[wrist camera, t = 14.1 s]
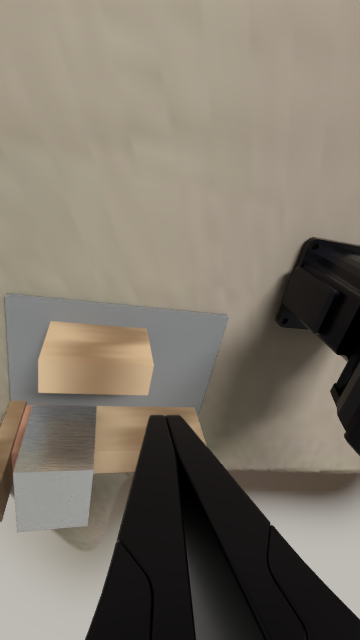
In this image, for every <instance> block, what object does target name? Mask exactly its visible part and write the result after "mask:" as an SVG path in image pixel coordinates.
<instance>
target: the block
mask: <svg viewBox="0 0 360 640" xmlns="http://www.w3.org/2000/svg"><path fill="white" fill-rule="evenodd" d="M153 368H154V363H153V358H152V353H151V347H150V342H149V337H148V332H147V329H144V328H132V327H119V326H107V325H94V324H81V323H69V322H56V321H51V322H50V325H49V328H48V331H47V334H46V337H45V340H44V343H43V346H42V349H41V353H40V356H39V359H38V393H66V394H109V395H148V392H149V388H150V383H151V378H152V373H153ZM32 406H56V405H26V401H10V404H9V406H8V409H7V412H6V414H5V417H4V419H3V422H2V425H1V427H0V522H1V521H2V519H3V515H4V511H5V508H6V504H7V501H8V497H9V494H10V490H11V487H12V483H13V471H14V468H15V464H16V461H17V457H18V454H19V451H20V447H21V444H22V440H23V437H24V433H25V430H26V426H27V423H28V419H29V416H30V413H31V409H32ZM150 415H164V416H166V415H181V416H182V417H183V419H184V420H185V421H186V422H187V423H188V424H189V426H190V427H191V428H192V429H193V430H194V432H195V433H196V434H197V435H198V436H199V438H200V439H201V440H202V441H203V442H204V444H205V445H206V442H205V439H204V436H203V432H202V429H201V426H200V423H199V420H198V416H197V413H196V410H195V407H129V406H97V411H96V431H95V451H94V470H93V474H96V473H121V472H135V468H136V465H137V461H138V457H139V453H140V449H141V446H142V442H143V438H144V434H145V430H146V426H147V423H148V419H149V416H150ZM206 446H207V445H206Z"/></svg>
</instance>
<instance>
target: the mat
mask: <svg viewBox="0 0 360 640" xmlns="http://www.w3.org/2000/svg"><path fill="white" fill-rule="evenodd" d="M5 311H6V329H7V346H8V363H9V381H10V398H11V401H26V405H56V406H129V407H195V410H196V413H197V416H198V414H199V411H200V407H201V404H202V401H203V398H204V395H205V392H206V388H207V385H208V382H209V379H210V376H211V372H212V369H213V366H214V363H215V360H216V356H217V353H218V350H219V347H220V344H221V340H222V337H223V334H224V331H225V328H226V324H227V321H228V318H229V317H228V316H227V315H223V314H213V313H202V312H192V311H182V310H172V309H161V308H151V307H141V306H131V305H120V304H110V303H100V302H89V301H79V300H69V299H59V298H48V297H38V296H28V295H18V294H6V295H5ZM51 321H56V322H69V323H81V324H94V325H107V326H119V327H132V328H144V329H147V332H148V337H149V342H150V347H151V353H152V358H153V363H154V368H153V373H152V378H151V383H150V388H149V392H148V395H109V394H66V393H38V359H39V356H40V353H41V349H42V346H43V343H44V340H45V337H46V334H47V331H48V328H49V325H50V322H51Z"/></svg>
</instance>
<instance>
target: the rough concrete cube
mask: <svg viewBox="0 0 360 640" xmlns="http://www.w3.org/2000/svg"><path fill="white" fill-rule="evenodd" d="M96 411H97V406H32V409H31V413H30V416H29V419H28V423H27V426H26V430H25V433H24V437H23V440H22V444H21V447H20V451H19V454H18V457H17V461H16V464H15V468H14V471H13V481H14V494H15V508H16V521H17V532H23V531H34V530H45V529H46V530H47V529H58V528H70V527H81V526H88V517H89V508H90V498H91V489H92V480H93V470H94V451H95V431H96Z"/></svg>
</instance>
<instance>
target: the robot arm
mask: <svg viewBox="0 0 360 640" xmlns="http://www.w3.org/2000/svg"><path fill="white" fill-rule="evenodd" d="M314 243H316V245H315V247H314V248H312V245H313V244H314ZM284 318H285V320H284V321H282V320H283V319H284ZM276 322H277V323H278V325H279V326H280V327H287V328H298V329H309V330H310V331H311V332H312V333H314V334H316V335H317V336H318V337H319V338H320V339H321V340H322V341H323V342H324V343H325V344H326V345H327V346H328V347H330V348H331V349H332V350H333V351H334V352H335V353H336V354H337V355H340V356H342V357H343V358H344V359H345V360H346V361H347V364H346V366H345V368H344V370H343V372H342V373H341V375H340V377H339V379H338V381H337V383H335V384H334V385H333V387H332V388H331V390H330V392H331V395H332V397H333V400H334V402H335V404H336V407H337V415H338V417H339V419H340V421H341V423H342V425H343V427H344V429H345V431H346V432H345V434H344V437H345V439H346V441H347V442H348V444H349V445H350V446H351V447H352V448H353V449H354V450H355V451H356V453H357V454H358V455H359V456H360V245H355V244H349V243H344V242H338V241H333V240H327V239H322V238H316V237H312V238H310V239H309V240H307V242H306V244H305V246H304V248H303V251H302V254H301V256H300V259H299V261H298V264H297V266H296V269H295V270H294V272H293V275H292V277H291V280H290V282H289V285H288V287H287V290H286V293H285V295H284V298H283V300H282V305H281V307H280V310H279V312H278V315H277V317H276ZM85 640H360V619H359V618H358V617H357V616H356V615H355V614H354V613H353V612H352V611H351V610H350V609H349V608H348V607H347V606H346V605H345V604H344V603H343V602H342V601H341V600H340V599H339V598H338V597H337V596H336V595H335V594H334V593H333V592H332V591H331V590H330V589H329V588H328V587H327V586H326V585H325V584H324V582H323V581H322V580H321V579H320V578H319V577H318V576H317V575H316V574H315V573H314V572H313V571H312V570H311V569H310V568H309V566H308V565H307V564H306V563H305V562H304V561H303V560H302V559H301V558H300V557H299V555H298V554H297V553H296V552H295V551H294V550H293V548H292V547H291V546H290V545H289V544H288V543H287V542H286V540H285V539H284V538H283V537H282V536H281V535H280V534H279V532H278V531H277V530H276V529H275V527H274V526H273V525H271V526H270V522H269V521H268V519H267V518H266V517H265V516H264V514H263V513H262V512H261V511H260V510H259V508H258V507H257V506H256V505H255V504H254V503H253V501H252V500H251V499H250V498H249V496H248V495H247V494H246V493H245V492H244V490H243V489H242V488H241V487H240V486H239V485H238V483H237V482H236V481H235V480H234V479H233V477H232V476H231V475H230V474H229V472H228V471H227V470H226V469H225V468H224V466H223V465H222V464H221V463H220V462H219V460H218V459H217V458H216V457H215V456H214V454H213V453H212V452H211V451H210V450H209V448H208V447H207V446H206V445H205V444H204V442H203V441H202V440H201V439H200V438H199V436H198V435H197V434H196V433H195V432H194V430H193V429H192V428H191V427H190V426H189V424H188V423H187V422H186V421H185V420H184V419H183V417H182V416H181V415H166V416H164V415H150V416H149V419H148V423H147V426H146V430H145V434H144V438H143V442H142V446H141V449H140V453H139V457H138V461H137V465H136V468H135V472H134V476H133V480H132V484H131V488H130V491H129V495H128V499H127V503H126V507H125V511H124V514H123V518H122V522H121V526H120V530H119V534H118V538H117V542H116V544H115V548H114V552H113V556H112V560H111V563H110V567H109V570H108V574H107V577H106V581H105V584H104V587H103V590H102V594H101V597H100V599H99V602H98V605H97V608H96V611H95V614H94V616H93V619H92V622H91V625H90V628H89V631H88V633H87V636H86V638H85Z"/></svg>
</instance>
